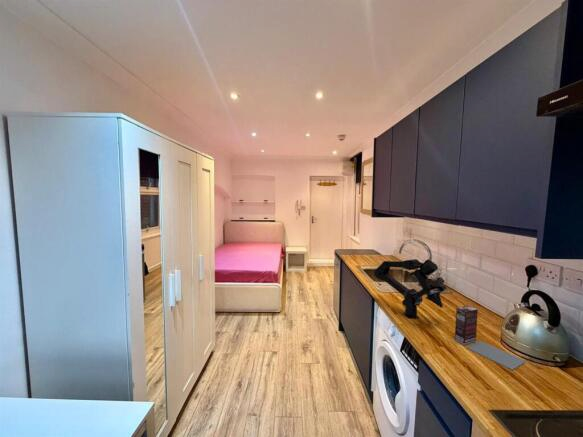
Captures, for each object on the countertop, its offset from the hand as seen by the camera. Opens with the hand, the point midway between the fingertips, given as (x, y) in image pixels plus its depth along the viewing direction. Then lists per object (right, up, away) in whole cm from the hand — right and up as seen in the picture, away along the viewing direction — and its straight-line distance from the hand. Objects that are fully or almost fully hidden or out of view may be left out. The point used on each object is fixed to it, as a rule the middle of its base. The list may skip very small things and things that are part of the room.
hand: (441, 307), depth 130 cm
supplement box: (+5, -13, -10) cm, 17 cm away
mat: (+11, -13, -20) cm, 27 cm away
